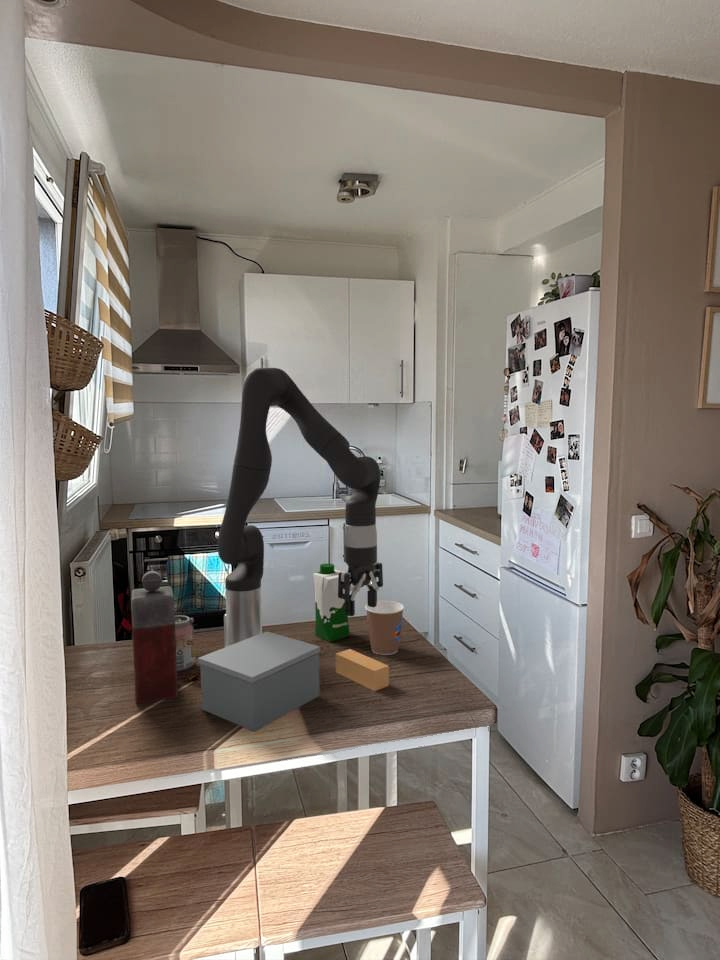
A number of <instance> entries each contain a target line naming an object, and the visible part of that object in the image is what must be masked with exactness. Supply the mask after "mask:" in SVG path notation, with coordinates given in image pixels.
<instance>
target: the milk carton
mask: <svg viewBox="0 0 720 960" xmlns="http://www.w3.org/2000/svg"><path fill="white" fill-rule="evenodd" d="M340 572H343V573H346V572H345V571H341V570H339V569H335V564H333V563H322V564H320V565H319V571H317V572H315V573H312V578H313V582H314V583H313V584H314V590H315V591H314V593H315V594H314V595H315V597H314V599H315V601H314V603H315V606H314V607H315V612H314V613H315V625H314V627H315V630H314V631H315V633H314V635H315V636H316V637H319V638H320V639H322V640H325V641H327V642H329V643H331V642H335V640H336V641H338V639H339V640H342V639H341V638H343V639H345V638H344V637H346V638H348V637H347V636H350V637H351V635H350V633H351V632H350V625H349V616H347V615H346V614H345V600H344V599H341V598H338V575H339V573H340ZM344 592H345V589H343V594H344Z"/></svg>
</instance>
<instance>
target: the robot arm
mask: <svg viewBox="0 0 720 960" xmlns="http://www.w3.org/2000/svg"><path fill="white" fill-rule="evenodd" d="M242 385H243V386H242V392H241V407H240V422H239V430H238V435H237V436H238V437H237V443H236V444H237V445H236V451H235V454H234V455H235V456H234V460H233V465H232V466H233V467H232V472H231V473H232V474H231V481H230V487H229V492H228V496H227V501H226V502H227V503H226V508H225V511H224V514H223V518H222V521H221V524H220V530H219V533H218V537H217V553H218V557H219V558H220V560H221V562H222V563H224V564H226V565H236V564H238V565H237V566H236V568H234V570H233V571H232V572H230V573H229V574H227V576H226V577H225V580H224V581H225V583H224V584H225V585H224V586H225V587H224V588H225V614H224V615H223V628H224V629H223V631H224V648H225V647H228V646H230V645H233V644H235V643H238V642H240V641H243V640H246V639H248V638H251V637H253V636H256V635H258V634H261V633H263V624H262V623H263V620H262V612H263V611H262V579H263V577H264V566H265V565H264V564H265V559H264V557H265V544H264V537H263V534H262V532H261V530H260V529H259V527H257V526H256V525H250V524H248V525H246V524H247V523H246V522H247V519H248V517H249V515H250V513H251V511H252V509H253V508H254V507H255V505H256V504H257V502H258V501H259V500H260V498H261V496H262V495H263V494H264V492H265V490H266V489H267V486H268V484H269V481H270V475H271V470H272V462H273V457H272V451H271V446H270V443H269V441H268V435H267V423H268V415H269V412H270V411H269V410H270V408H271V407H276V406H277V407H278V408H280V409H282V410H283V411H284V412H286V413H287V414H288V415H289V416H291V418H292V419H293V421H295V422H296V425H297V427H298V429H299V431H300V433H301V435H302V438H303V439H304V441H305V442H306V443H307V444H308V445H309V446H310V448H312V449H313V450H314V451H315V452H316V453H317V454H318V455H319V456H320V457H321V458H323V460H324V461H326V463H327V464H328V465H329V468H330V469H331V471H332V472H333V474H334V475H335V476H336V478H337V479H338V480H339V481H340V482H341V483H342V484H343V485H344V486H346V487H347V488H348V489H351V490H352V492H351V496H350V497H349V499H348V500H346V502H345V511H344V513H345V518H344V520H345V525H344V526H345V528H344V562H345V564H346V565H347V566H348V568H347V572H345V573H343V572H344V571H342V572H340V573H339V575H338V598H341V599H344V600H345V614H346V615H347V616H348V617H354V616H355V615H356V614H355V613H356V610H355V609H356V608H355V607H356V605H355V598H356V595H357V593H359V592H360V590H361V589H362V587H365V586H366V588H367V604H368V606H370V607H376V606H377V601H378V592H379V589H380V588H382V587H383V586H384V576H383V563H382V562H378V532H377V531H378V530H377V526H376V525H377V521H376V520H377V519H376V518H377V514H376V513H377V512H376V511H377V509H376V504H377V499H378V495H379V490H380V489H379V488H380V483H381V471H380V470H381V469H380V466H379V463H378V462H377V460H375V459H374V458H373V457H371V456H365V455H364V456H356V455H355V454H354V453H353V452H352V450H350V442H349V440H348V439H347V438H346V437H345V436H344V435H343V434H342V433H341V432H340V431H338V430H337V428H335V427H334V426H333V425H332V424H331V423H330V422H329V421H328V420H327V419H326V418H325V417H323V415H321V413H320V412H319V411H318V410H317V409H316V408H315V406H313V404H312V403H311V402H310V401H309V400H308V398H307V397H306V395H305V394H304V393H303V391H301V389H300V388H299V387H298V385H297V384H296V383H295V381H294V380H293V379H292V378H291V377H290V375H289V374H288V373H287V372H286V371H285V370H283V369H282V368H277V367H260V368H259V367H258V368H254V369H251V370H250V371H249V372H248V373H247V374H246V376H245V378H244V381H243V383H242ZM377 578H378V581H377ZM343 589H345V592H344V594H343ZM350 592H351V593H350Z"/></svg>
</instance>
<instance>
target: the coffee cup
mask: <svg viewBox="0 0 720 960" xmlns="http://www.w3.org/2000/svg"><path fill="white" fill-rule="evenodd" d="M364 608H365V610H366V617H367V619H366V621H367V628H368V634H369V642H370V647H371V651H373V652H372V653H374V654H375V653H376V654H375V655H379V654H380V655H379V656H390V655H395V654H396V653H397V652H399V651H398V650H399V646H400V638H401V630H402V623H403V613H404V609H405V606H404V604H402V603H400V602H397V601H393V600H377V606H376V607H370V606H368V603H367V604H365V607H364Z"/></svg>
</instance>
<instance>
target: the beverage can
mask: <svg viewBox="0 0 720 960" xmlns="http://www.w3.org/2000/svg"><path fill="white" fill-rule="evenodd" d="M194 621H195V620H194V617H189V616H187V615H179V614H178V615H175V635H176V661H177V672H182V671H187V670H188V669H190V668H192V666H194V664H195V661H196V660H195V658H196V657H195V635H194V634H195V633H194V631H195V630H194V626H193V623H194Z"/></svg>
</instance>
